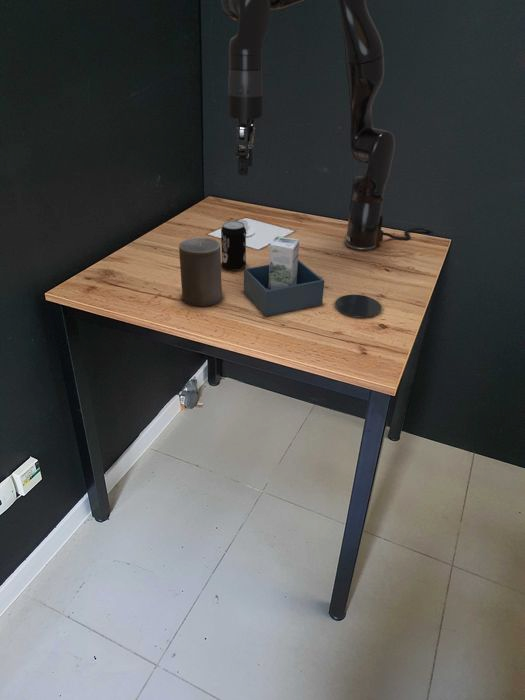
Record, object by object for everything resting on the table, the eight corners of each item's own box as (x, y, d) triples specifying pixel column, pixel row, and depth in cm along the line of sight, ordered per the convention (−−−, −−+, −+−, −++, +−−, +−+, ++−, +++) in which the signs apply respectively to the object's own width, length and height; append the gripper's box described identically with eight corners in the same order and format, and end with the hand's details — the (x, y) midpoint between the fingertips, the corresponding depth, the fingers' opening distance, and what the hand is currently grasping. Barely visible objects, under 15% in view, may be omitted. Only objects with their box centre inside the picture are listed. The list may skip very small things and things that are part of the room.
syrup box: (296, 293, 125) (300, 238, 117) (289, 304, 121) (293, 247, 113) (274, 289, 127) (277, 234, 119) (267, 300, 122) (269, 243, 114)
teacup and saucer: (241, 226, 165) (241, 214, 163) (261, 232, 161) (261, 219, 159) (224, 234, 159) (224, 221, 157) (244, 240, 155) (244, 227, 153)
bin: (296, 282, 132) (298, 259, 128) (322, 304, 122) (324, 280, 118) (243, 292, 126) (243, 268, 123) (265, 316, 116) (266, 291, 113)
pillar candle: (189, 309, 118) (185, 249, 110) (177, 291, 126) (173, 234, 117) (227, 302, 121) (226, 244, 113) (214, 285, 129) (212, 229, 120)
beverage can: (242, 272, 136) (242, 229, 129) (219, 269, 137) (218, 227, 130) (248, 262, 141) (248, 221, 135) (225, 260, 142) (224, 219, 136)
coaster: (363, 293, 127) (364, 291, 127) (390, 313, 119) (390, 311, 119) (326, 301, 123) (326, 299, 123) (351, 322, 115) (351, 320, 115)
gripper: (259, 98, 102) (258, 179, 111) (265, 89, 114) (263, 163, 123) (223, 96, 102) (224, 177, 111) (232, 88, 114) (233, 162, 123)
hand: (245, 170), depth 117 cm, fingers open, 8 cm apart
